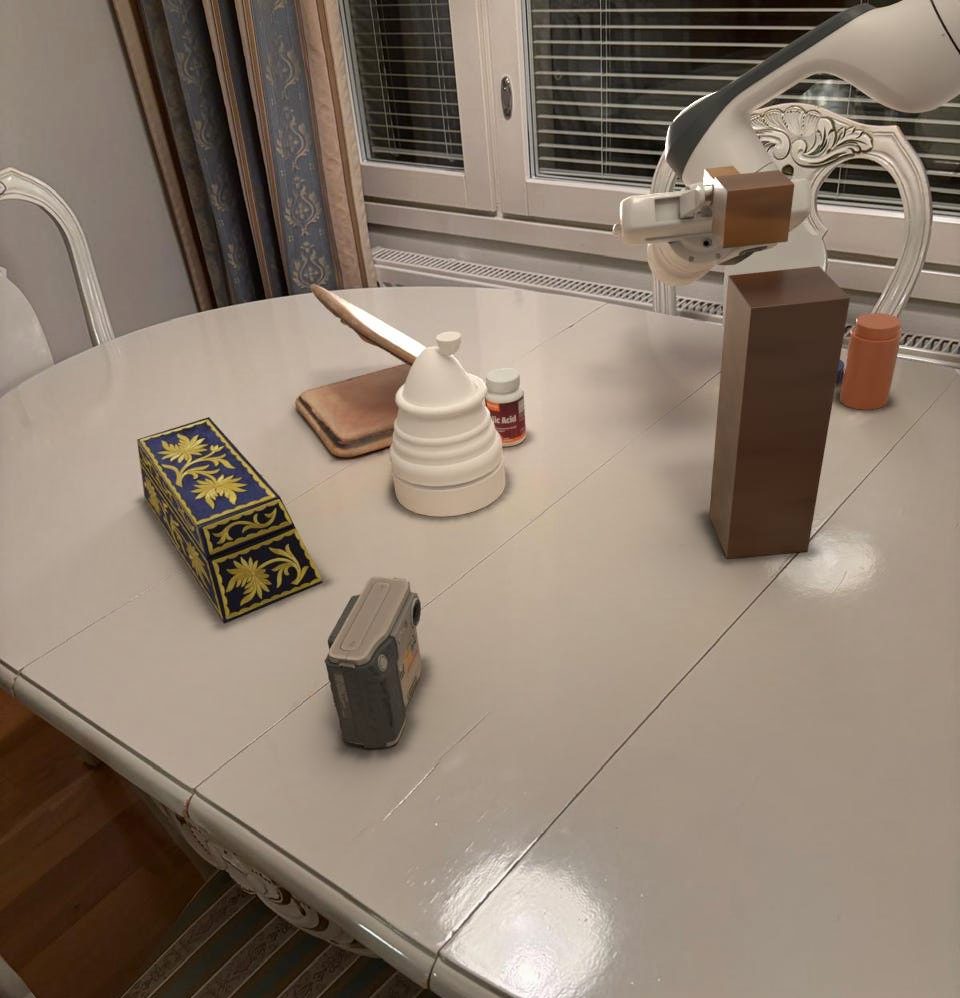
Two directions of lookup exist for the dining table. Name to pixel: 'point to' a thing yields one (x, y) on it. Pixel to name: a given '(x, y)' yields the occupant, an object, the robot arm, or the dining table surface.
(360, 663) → the camera
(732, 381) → the pedestal
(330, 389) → the case
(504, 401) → the pill bottle
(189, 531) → the decorative box
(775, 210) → the brown wooden block
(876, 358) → the jar
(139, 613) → the dining table surface
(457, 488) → the honey pot
